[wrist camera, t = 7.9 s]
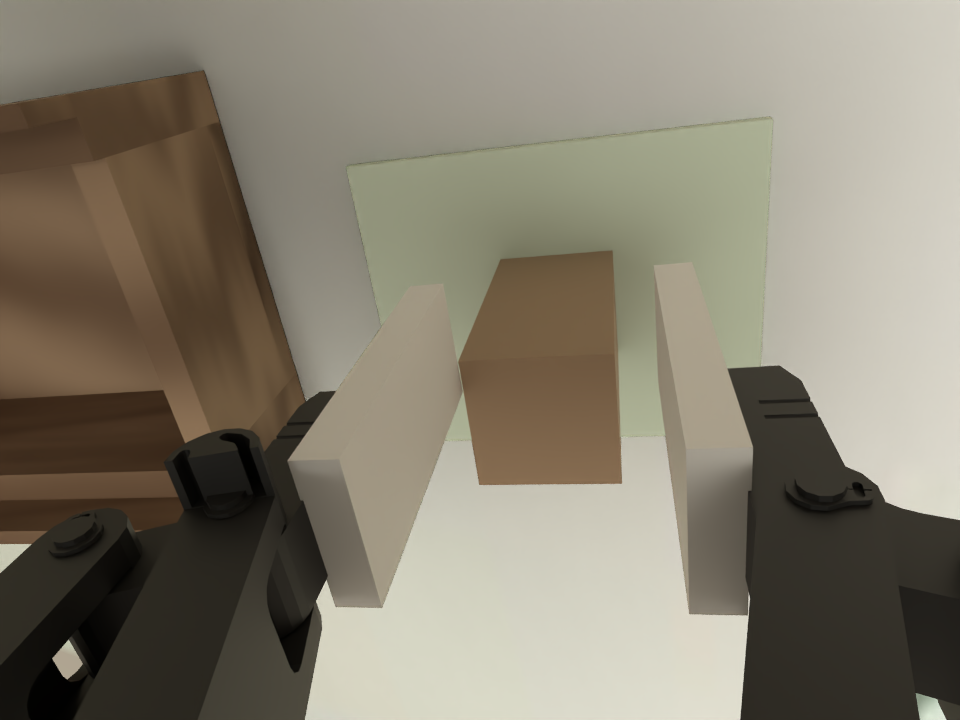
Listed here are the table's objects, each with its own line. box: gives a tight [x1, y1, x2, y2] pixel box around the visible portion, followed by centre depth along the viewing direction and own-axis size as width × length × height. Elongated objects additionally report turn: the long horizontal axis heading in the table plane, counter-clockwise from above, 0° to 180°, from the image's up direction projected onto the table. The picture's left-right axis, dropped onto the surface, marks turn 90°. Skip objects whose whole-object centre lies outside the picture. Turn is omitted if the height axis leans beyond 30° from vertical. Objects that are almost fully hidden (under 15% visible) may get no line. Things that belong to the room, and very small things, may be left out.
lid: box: [346, 117, 773, 485], centre depth 19 cm, size 10×12×8 cm
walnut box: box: [0, 71, 305, 544], centre depth 22 cm, size 12×14×8 cm
